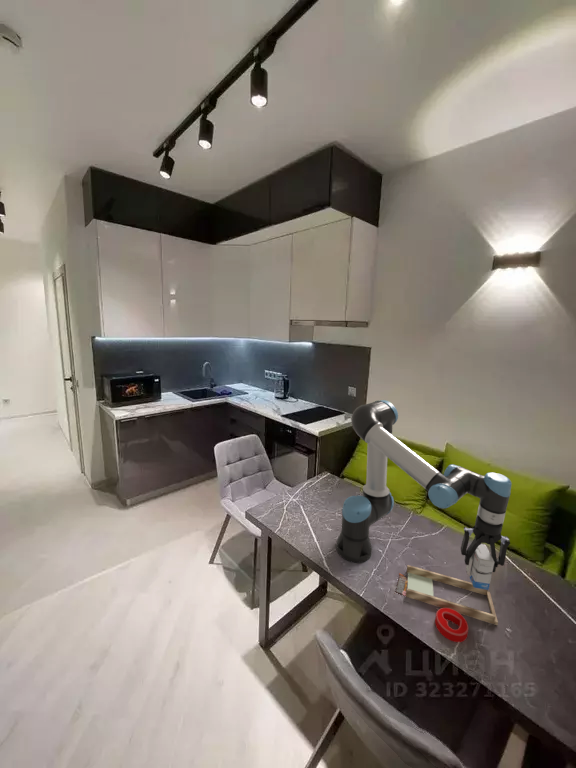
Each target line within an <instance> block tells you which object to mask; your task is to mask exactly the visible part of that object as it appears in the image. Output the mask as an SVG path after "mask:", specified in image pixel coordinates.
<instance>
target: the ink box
mask: <svg viewBox="0 0 576 768" xmlns="http://www.w3.org/2000/svg"><path fill="white" fill-rule="evenodd" d="M471 543H472V541H471V542H470V544H471ZM472 559H473V561H472V566H471V571H470V575H468V577H469V579H470V581H471V583H472V584H473V587H474V588H479V589H485V590H488V591H489V589H490V584H491V580H492V575H493V572H492V571H493V567H494V560H493V558H492V556H491V551H489V548H488V547H487V545H486V543H481V544H480V545H479V546H478V547H477V549H476V550H475V552H474V553H473V555H472Z"/></svg>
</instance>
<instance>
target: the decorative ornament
mask: <svg viewBox="0 0 576 768" xmlns="http://www.w3.org/2000/svg"><path fill="white" fill-rule="evenodd" d="M434 620H435V621H434V624H435V627H436V629H437V631H438V632H439V634H441V635H442V636H443V637H444V638H445V639H448V640H449V641H451V642H454V643H462V642H464V641H466V640H467V638H468V635H469V634H468V633H469V625H468V624H469V623H468V621H467V620H466V618H465V617H464V615H463V614H460V613H458V612H457V611H455V610H453V609H450V608H441V607H440V608H439V609H437V611H436V612H435V619H434ZM449 622H452V623H453V624H455V625H456V626H458V628H457V629H453V628H452V627H450V626H449Z"/></svg>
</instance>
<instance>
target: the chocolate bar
mask: <svg viewBox="0 0 576 768" xmlns="http://www.w3.org/2000/svg"><path fill="white" fill-rule="evenodd" d="M397 579H398V580H397V582H396V586H397V588H396V587H395V590H396V591H395V590H394V592H396V593H398V594H397V595H399V594H400V595H399V596H402V595H403V596H402V597H405V596H406V590H407V588H408V577H407V576H405V575H404V574H402V573H401V572H399V573H398V578H397Z"/></svg>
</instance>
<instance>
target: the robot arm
mask: <svg viewBox="0 0 576 768" xmlns="http://www.w3.org/2000/svg"><path fill="white" fill-rule="evenodd" d="M398 419H399V412H398V410H397V408H396V407H395V405H394V404H393V403H392V402H391V401H389V400H386V399H381V400H375V401H373V402H369V403H365V404H361V405H359V406H358V407H356V408H355V409H354V410H353V412H352V415H351V420H350V421H351V425H352V429H353V430H354V432H355V434H357V436H358V437H359V438H361V440H362V441H364V442H365V443H367V445H366V446H367V447H366V448H367V450H366V452H367V455H366V483H365V484H364V485H363V486H362V495H351V496H348V497H347V498H346V499H345V500H344V502H343V504H342V509H341V514H342V515H341V531H340V533H339V536H338V538H337V540H336V546H335V547H336V550H337V551H338V552H337V551H336V552H337V554H338V555H339V554H340V555H341V556H342V558H343V559H344V560H346V561H348V562H351V561H352V562H351V563H364V562H367V561H368V560H369V559H370V558H371V556H372V553H373V552H372V550H373V549H372V548H373V546H372V543H371V539H370V536H369V535H370V534H369V533H370V527H371V526H372V525H373V524H375V523H377V522H379V520H381V519H383V518H385V517H386V516H387V515H389V514H390V513H391V512H392V510H393V509H394V506H395V500H394V496H392V493H391V492H390V488H388V486H387V476H388V475H387V474H388V459H389V460H390V461H392V462H393V463H394V464H395V465H396V466H397V467H399V468H400V470H402V471H403V472H405V473H406V474H407V475H408V476H409V477H410V478H412V479H413V480H414V481H416V482H417V483H418V484H419V485H420V486H421V487H423V488H424V489H425V490H426V491H427V493H428V495H427V496H428V498H429V500H430V502H431V503H432V504H433V506H435V507H437V508H439V509H447V508H450V507H451V506H454V505H455V504H457V502H458V501H460V500H461V498H463V497H464V496H465V495H467V494H469V495H471V496H473V497H475V498H479V503H478V508H477V514H476V517H475V523H474V526H473V527H472V528H471V527H470V528H469V527H467V526H464V527H463V530H464V533H463V538H462V542H461V546H460V554H461V555H462V556H464V565H465V566H466V567H465V570H466V571H465V572H466V575H468V576H469V575H470V571H471V566H472V561H473V559H472V555H473V553H474V552H475V550H476V549H477V547H478V546H479V545H480V544H487V545H489V548H490V554H491V556H492V558H493V560H494V567H493V571H492V573H495V572H496V569H497V568H498V567H499V565H500V566H505V562H506V556H507V550H508V548H509V546H510V544H511V542H510V538H509V537H508V536H507V535H506V536H505V535H504V536H503V535H502V534H501V533H502V530H503V525H504V521H505V517H506V513H507V507H508V503H509V500H510V497H511V489H512V481H511V479H510V478H509V477H507V476H506V475H504V474H501V473H496V472H492V471H491V472H487V473H486V474H484V475H482V474H480V473H477V472H475V471H472V470H470V469H468V468H465V467H463V466H460V465H456V464H453V463H452V464H449V465H448V466H447V467H446V469H445V470H444V472H443V473H441V472H440V471H439V470H438V469H436V468H435V467H434V466H432V465H431V464H430V463H429V462H427V461H426V460H425V459H423V458H422V457H421V456H420V455H419V454H417V453H416V452H415V451H414V450H412V449H411V448H410V447H408V446H407V445H406V444H404V442H403V441H401V440H399V439H398V438H397V437H395V436H394V435H393V425H395V424H396V422H397V421H398ZM473 534H474V537H473V540H472V541H471V542H472V543H471V542H470V544H469V541H470V536H471V535H473ZM498 541H500V546H499V552H498V557H497V553H496V552H497V551H496V545H495V543H497V542H498ZM468 545H469V546H468ZM340 555H339V556H340ZM341 556H340V557H341Z"/></svg>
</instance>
